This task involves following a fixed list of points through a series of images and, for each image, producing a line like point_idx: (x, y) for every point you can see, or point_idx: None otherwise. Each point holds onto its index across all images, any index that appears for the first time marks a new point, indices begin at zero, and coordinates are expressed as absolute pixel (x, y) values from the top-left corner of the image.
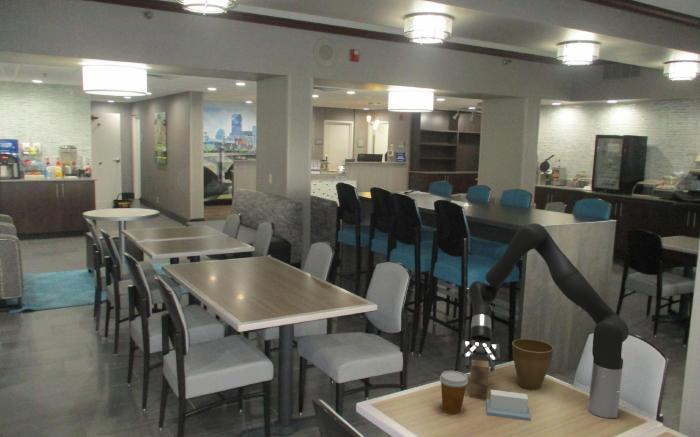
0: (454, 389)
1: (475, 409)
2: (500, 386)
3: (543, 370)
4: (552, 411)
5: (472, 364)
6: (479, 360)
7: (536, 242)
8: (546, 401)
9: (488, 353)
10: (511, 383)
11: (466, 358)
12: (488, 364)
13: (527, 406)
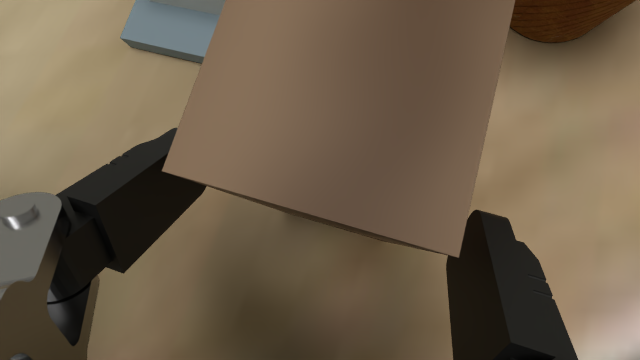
0: None
1: None
2: (160, 300)
3: None
4: (37, 15)
5: (500, 12)
6: (314, 203)
7: None
8: (4, 112)
9: (4, 300)
10: None
11: (547, 347)
12: (217, 40)
13: (132, 16)
